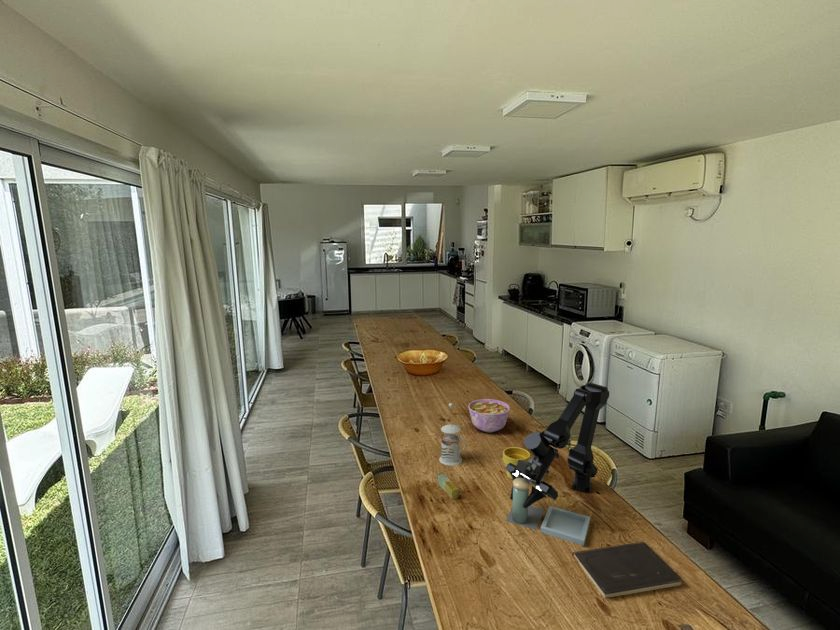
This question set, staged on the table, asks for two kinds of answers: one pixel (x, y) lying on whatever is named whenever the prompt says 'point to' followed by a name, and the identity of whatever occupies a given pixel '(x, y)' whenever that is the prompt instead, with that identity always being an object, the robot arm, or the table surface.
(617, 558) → the hardcover book
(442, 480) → the medication box
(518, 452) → the plant pot
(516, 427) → the table surface
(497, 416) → the bowl of food
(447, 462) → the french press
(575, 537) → the dish
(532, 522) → the mat
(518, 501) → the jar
